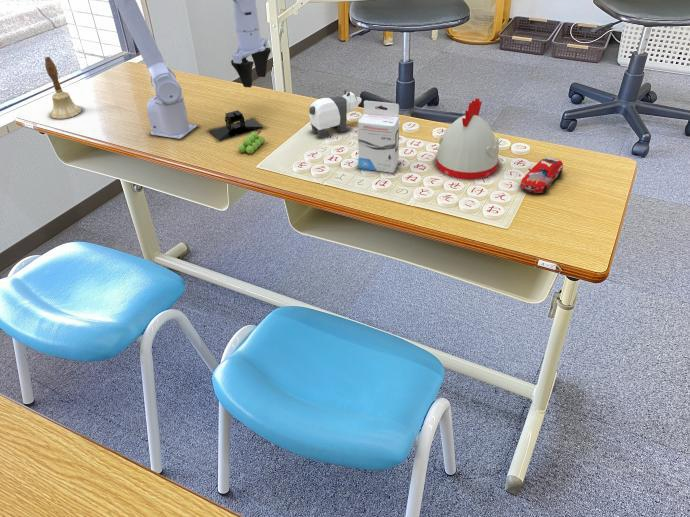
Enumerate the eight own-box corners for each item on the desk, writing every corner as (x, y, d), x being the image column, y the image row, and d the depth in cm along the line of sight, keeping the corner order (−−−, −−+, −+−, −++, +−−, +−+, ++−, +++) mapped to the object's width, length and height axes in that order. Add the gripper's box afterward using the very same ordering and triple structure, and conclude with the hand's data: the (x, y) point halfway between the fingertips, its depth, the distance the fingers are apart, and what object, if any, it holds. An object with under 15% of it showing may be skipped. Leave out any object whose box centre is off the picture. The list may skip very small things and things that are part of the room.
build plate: (219, 141, 150) (216, 124, 147) (209, 131, 155) (205, 114, 152) (263, 128, 155) (261, 111, 152) (251, 119, 160) (249, 102, 157)
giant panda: (316, 140, 148) (314, 104, 142) (307, 132, 152) (304, 96, 146) (366, 126, 153) (366, 90, 148) (356, 118, 157) (355, 84, 152)
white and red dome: (506, 158, 137) (515, 96, 128) (483, 184, 128) (490, 120, 119) (451, 145, 143) (456, 85, 134) (425, 169, 134) (429, 107, 125)
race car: (539, 198, 123) (542, 182, 120) (515, 190, 126) (518, 174, 123) (566, 173, 131) (569, 157, 128) (543, 166, 133) (546, 150, 131)
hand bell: (87, 110, 169) (69, 54, 159) (63, 121, 163) (43, 64, 154) (69, 105, 172) (50, 50, 163) (44, 115, 167) (23, 59, 157)
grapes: (237, 153, 144) (235, 140, 142) (254, 138, 150) (252, 125, 148) (252, 155, 143) (250, 142, 141) (268, 140, 149) (266, 127, 147)
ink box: (357, 169, 136) (356, 108, 127) (363, 159, 139) (362, 99, 130) (393, 173, 133) (394, 112, 124) (399, 163, 137) (400, 103, 128)
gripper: (247, 38, 141) (254, 93, 149) (275, 21, 152) (280, 73, 160) (222, 36, 143) (230, 90, 152) (251, 19, 154) (257, 70, 162)
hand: (254, 81), depth 156 cm, fingers open, 7 cm apart
